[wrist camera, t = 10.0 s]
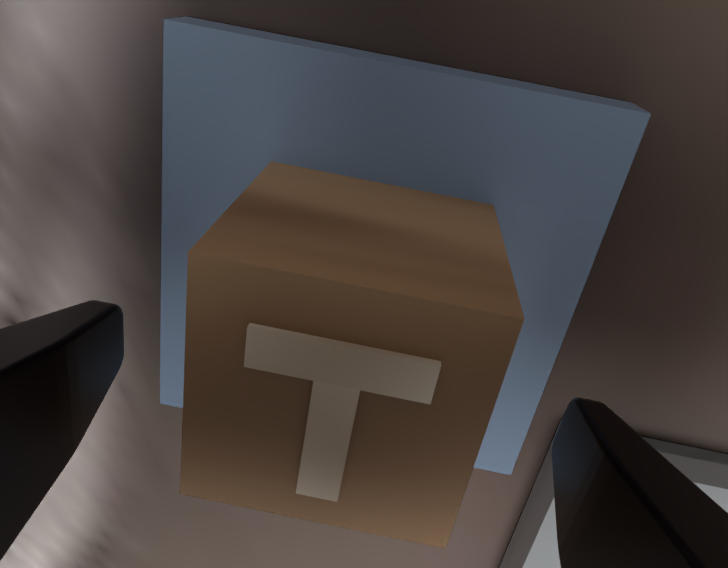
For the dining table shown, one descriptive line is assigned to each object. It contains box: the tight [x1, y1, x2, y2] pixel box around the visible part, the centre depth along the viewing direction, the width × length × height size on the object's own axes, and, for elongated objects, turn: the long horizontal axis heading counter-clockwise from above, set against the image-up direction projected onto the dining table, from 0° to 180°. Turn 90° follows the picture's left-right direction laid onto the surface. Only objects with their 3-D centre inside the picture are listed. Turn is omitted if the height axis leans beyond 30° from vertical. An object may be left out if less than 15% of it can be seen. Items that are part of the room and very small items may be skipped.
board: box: [160, 16, 651, 475], centre depth 12 cm, size 8×8×1 cm
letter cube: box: [180, 161, 525, 549], centre depth 10 cm, size 4×4×4 cm
